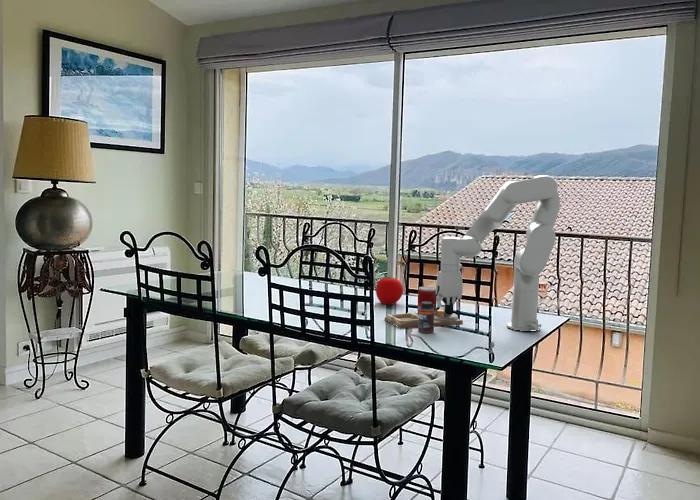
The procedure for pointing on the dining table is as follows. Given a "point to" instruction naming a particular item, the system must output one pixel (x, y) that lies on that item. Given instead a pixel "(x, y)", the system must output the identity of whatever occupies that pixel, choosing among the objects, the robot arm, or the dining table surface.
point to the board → (412, 320)
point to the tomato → (389, 290)
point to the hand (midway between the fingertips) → (448, 313)
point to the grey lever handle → (441, 311)
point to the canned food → (427, 296)
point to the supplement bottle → (426, 318)
